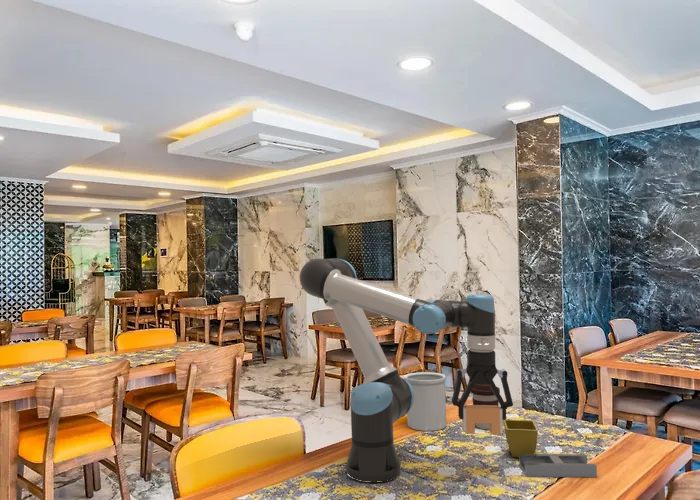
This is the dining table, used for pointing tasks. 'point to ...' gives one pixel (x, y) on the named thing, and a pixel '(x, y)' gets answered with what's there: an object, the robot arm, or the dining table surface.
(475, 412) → the brown notched block
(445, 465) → the dining table surface
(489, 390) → the coffee cup
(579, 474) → the rail
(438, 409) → the utensil holder
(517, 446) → the flower pot
